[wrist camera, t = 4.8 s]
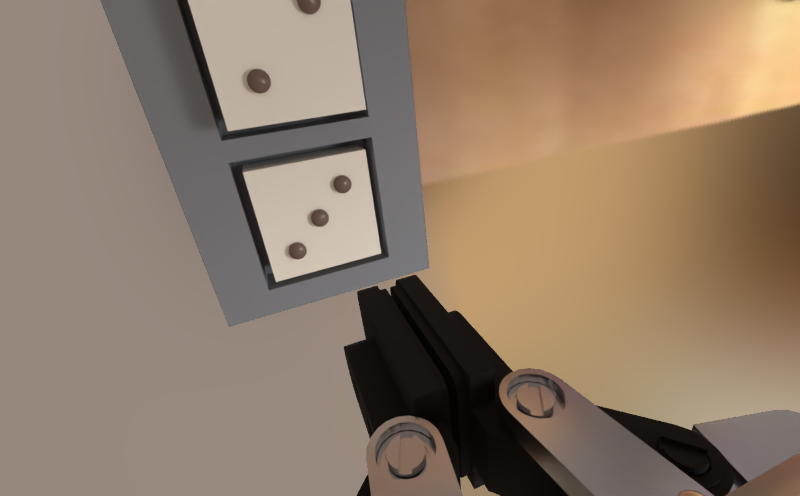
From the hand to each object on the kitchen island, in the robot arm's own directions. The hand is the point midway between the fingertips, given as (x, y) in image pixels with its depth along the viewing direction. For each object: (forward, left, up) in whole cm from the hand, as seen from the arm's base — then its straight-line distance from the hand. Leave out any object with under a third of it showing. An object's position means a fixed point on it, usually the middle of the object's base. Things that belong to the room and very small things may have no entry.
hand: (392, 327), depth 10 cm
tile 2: (0, -8, -11) cm, 14 cm away
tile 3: (0, 0, -13) cm, 13 cm away
